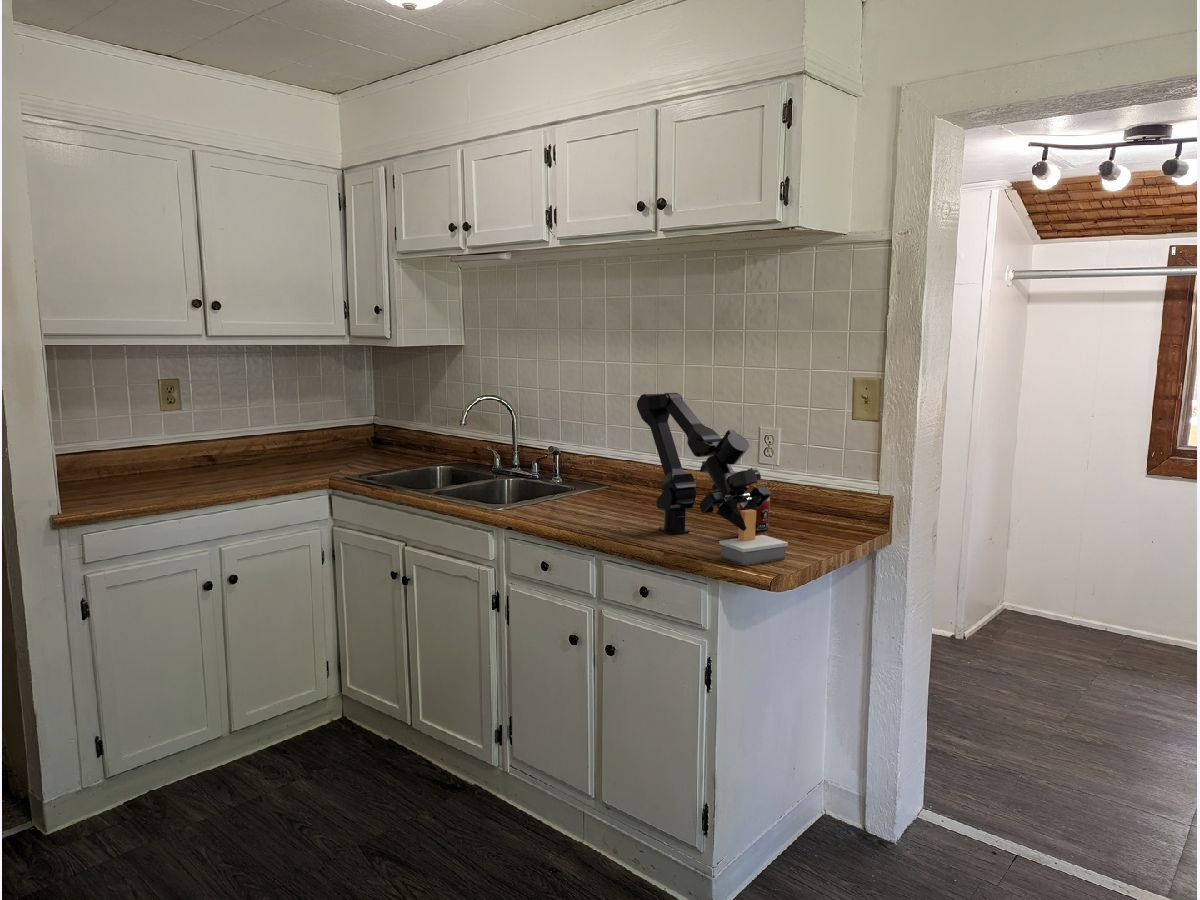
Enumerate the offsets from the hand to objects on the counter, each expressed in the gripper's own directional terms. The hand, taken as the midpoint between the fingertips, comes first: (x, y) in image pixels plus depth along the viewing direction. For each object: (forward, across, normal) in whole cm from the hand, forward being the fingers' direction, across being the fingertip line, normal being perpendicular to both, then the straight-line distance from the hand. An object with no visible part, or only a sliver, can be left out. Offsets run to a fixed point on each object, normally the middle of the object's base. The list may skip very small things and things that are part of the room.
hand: (751, 529), depth 203 cm
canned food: (-6, +15, +16) cm, 22 cm away
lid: (+3, 0, +2) cm, 4 cm away
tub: (+6, 0, +4) cm, 7 cm away
